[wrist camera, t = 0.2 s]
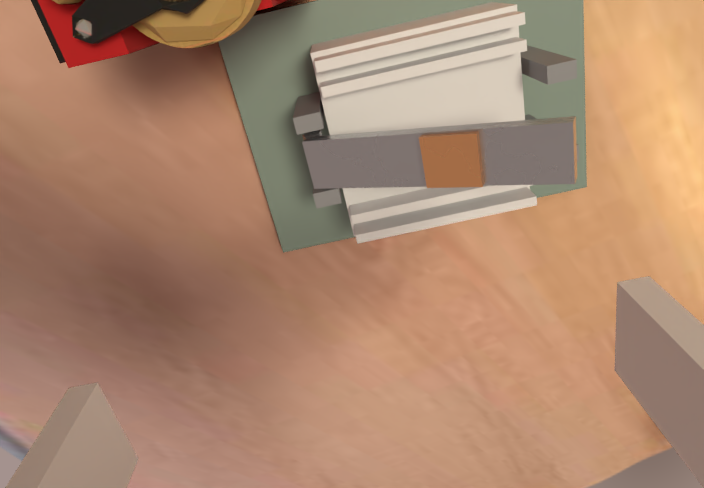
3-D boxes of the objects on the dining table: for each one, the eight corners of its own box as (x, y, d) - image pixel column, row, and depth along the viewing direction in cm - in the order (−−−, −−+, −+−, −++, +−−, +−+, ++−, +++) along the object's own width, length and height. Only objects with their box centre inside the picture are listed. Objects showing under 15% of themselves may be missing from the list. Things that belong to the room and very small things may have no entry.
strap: (321, 180, 34) (303, 194, 32) (308, 129, 33) (289, 141, 31) (579, 173, 26) (573, 191, 25) (577, 106, 25) (571, 120, 23)
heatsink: (284, 245, 43) (274, 309, 34) (216, 24, 35) (182, 36, 27) (579, 181, 42) (645, 231, 33) (573, -62, 34) (655, -78, 26)
